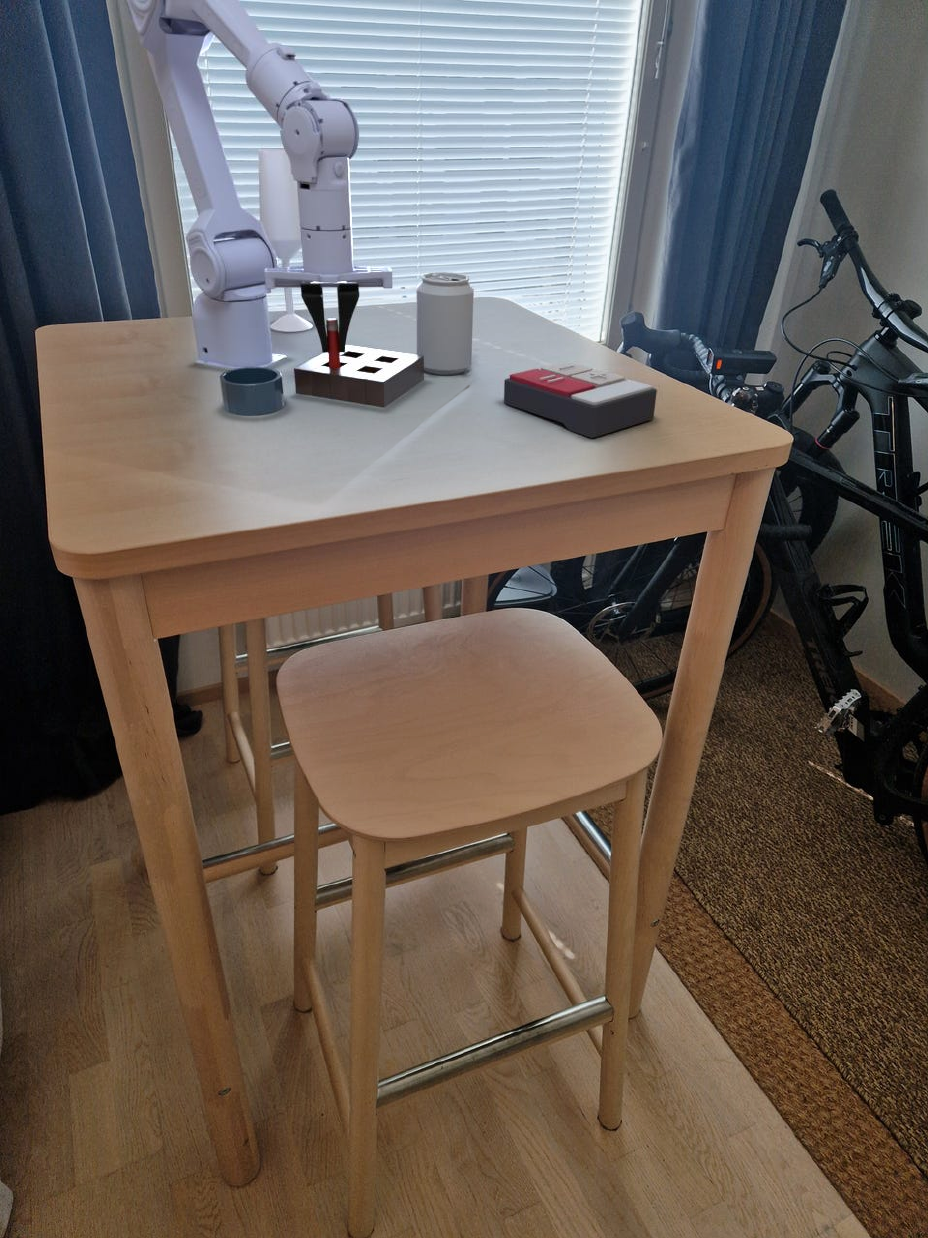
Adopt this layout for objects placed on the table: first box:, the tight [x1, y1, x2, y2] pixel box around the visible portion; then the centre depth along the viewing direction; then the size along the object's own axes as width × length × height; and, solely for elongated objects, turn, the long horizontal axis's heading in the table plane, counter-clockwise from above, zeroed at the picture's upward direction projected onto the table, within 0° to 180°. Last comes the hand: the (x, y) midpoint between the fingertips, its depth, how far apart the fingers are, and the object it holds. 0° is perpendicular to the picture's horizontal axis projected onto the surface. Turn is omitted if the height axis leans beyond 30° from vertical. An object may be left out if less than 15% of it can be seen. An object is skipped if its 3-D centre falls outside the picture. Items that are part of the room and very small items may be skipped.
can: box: [416, 271, 475, 376], centre depth 106 cm, size 8×8×12 cm
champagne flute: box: [258, 148, 314, 333], centre depth 119 cm, size 7×7×24 cm
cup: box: [219, 367, 285, 417], centre depth 93 cm, size 7×7×4 cm
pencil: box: [325, 317, 340, 369], centre depth 97 cm, size 1×1×8 cm
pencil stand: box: [293, 344, 425, 409], centre depth 100 cm, size 12×12×4 cm
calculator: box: [503, 361, 658, 439], centre depth 96 cm, size 11×4×15 cm
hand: (333, 350), depth 97 cm, fingers closed on pencil, 1 cm apart
